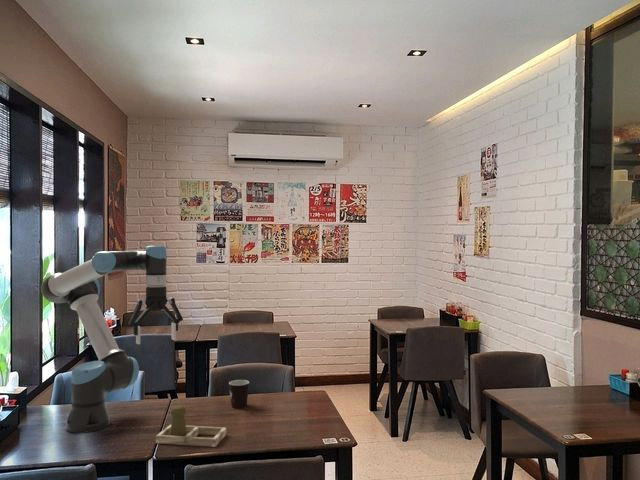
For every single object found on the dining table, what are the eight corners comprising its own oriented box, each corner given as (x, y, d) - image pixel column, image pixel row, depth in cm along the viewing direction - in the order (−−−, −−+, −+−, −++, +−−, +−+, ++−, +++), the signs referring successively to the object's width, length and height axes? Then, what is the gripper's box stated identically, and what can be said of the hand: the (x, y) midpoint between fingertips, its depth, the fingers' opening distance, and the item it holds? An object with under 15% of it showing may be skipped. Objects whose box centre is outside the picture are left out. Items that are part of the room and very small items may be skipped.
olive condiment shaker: (177, 441, 180) (177, 410, 180) (165, 438, 183) (165, 407, 183) (190, 436, 185) (190, 405, 185) (178, 432, 188) (178, 402, 188)
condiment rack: (215, 446, 176) (215, 439, 176) (155, 443, 180) (155, 435, 180) (226, 434, 187) (226, 427, 187) (170, 431, 191) (170, 424, 191)
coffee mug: (247, 409, 215) (247, 385, 215) (227, 409, 215) (227, 385, 215) (251, 400, 227) (251, 378, 227) (232, 400, 227) (232, 377, 227)
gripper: (125, 288, 187) (125, 347, 187) (191, 285, 202) (191, 339, 202) (119, 287, 193) (119, 343, 193) (184, 283, 208) (184, 336, 208)
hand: (156, 341), depth 197 cm, fingers open, 13 cm apart
